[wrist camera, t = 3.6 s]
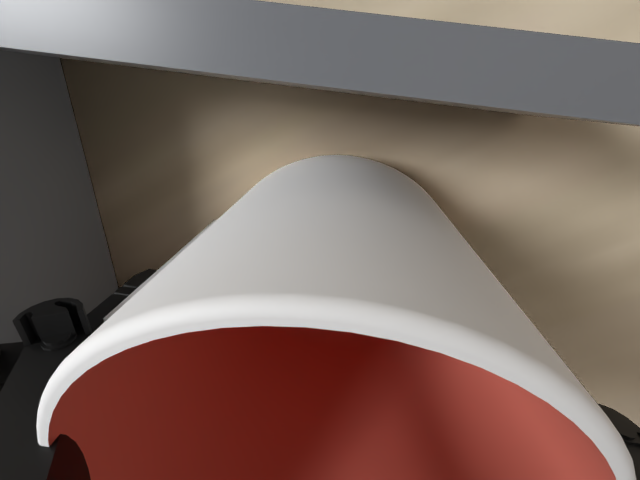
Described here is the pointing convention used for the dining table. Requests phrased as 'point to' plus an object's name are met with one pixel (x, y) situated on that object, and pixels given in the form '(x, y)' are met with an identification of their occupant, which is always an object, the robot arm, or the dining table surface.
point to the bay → (249, 65)
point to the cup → (328, 353)
